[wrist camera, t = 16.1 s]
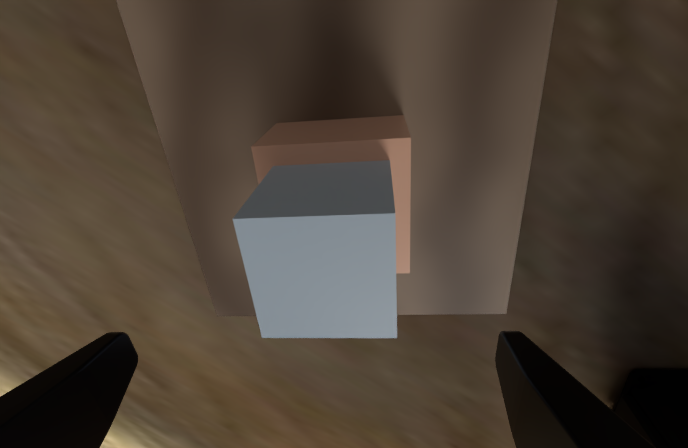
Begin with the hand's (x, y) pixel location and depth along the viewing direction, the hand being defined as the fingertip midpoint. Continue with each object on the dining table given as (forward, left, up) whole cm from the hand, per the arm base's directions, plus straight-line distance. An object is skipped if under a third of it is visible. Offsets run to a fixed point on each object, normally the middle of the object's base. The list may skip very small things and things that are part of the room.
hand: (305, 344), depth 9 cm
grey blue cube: (0, 0, -7) cm, 7 cm away
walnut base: (0, 0, -13) cm, 13 cm away
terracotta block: (0, 0, -11) cm, 11 cm away
